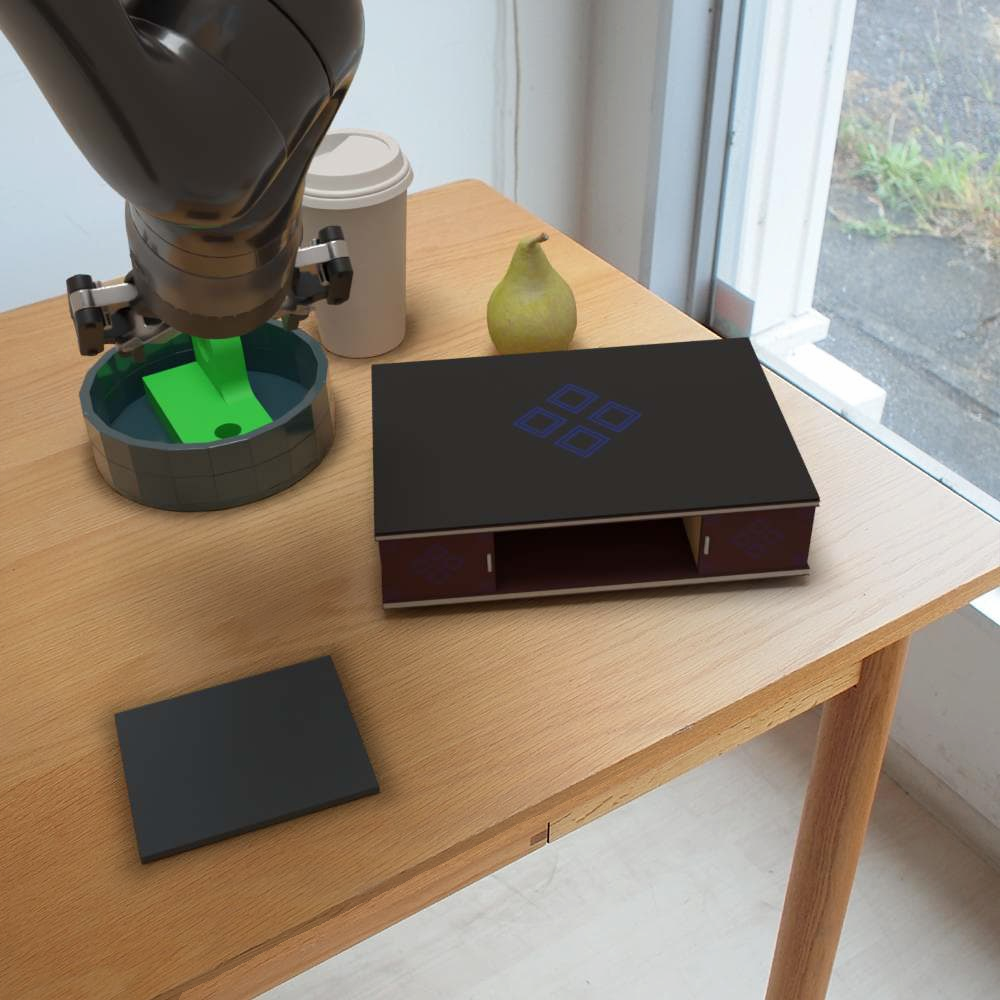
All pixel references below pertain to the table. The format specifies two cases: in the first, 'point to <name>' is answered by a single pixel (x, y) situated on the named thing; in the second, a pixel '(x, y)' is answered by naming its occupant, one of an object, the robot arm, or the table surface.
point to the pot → (222, 463)
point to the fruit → (531, 304)
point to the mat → (241, 757)
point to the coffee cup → (362, 237)
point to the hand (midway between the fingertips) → (211, 329)
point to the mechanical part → (206, 395)
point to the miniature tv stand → (584, 474)
